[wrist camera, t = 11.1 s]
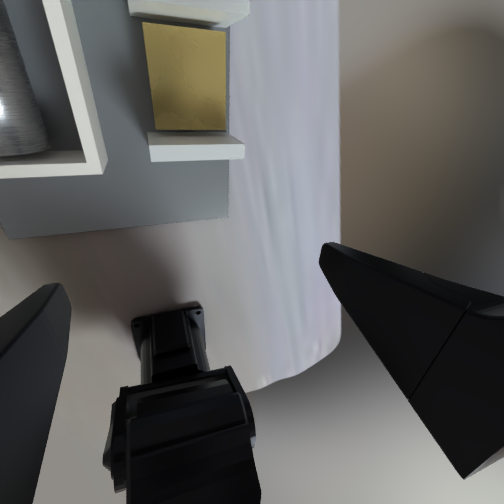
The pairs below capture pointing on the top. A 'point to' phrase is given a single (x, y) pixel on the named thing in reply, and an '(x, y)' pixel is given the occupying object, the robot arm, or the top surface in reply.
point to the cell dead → (17, 99)
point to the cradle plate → (186, 76)
